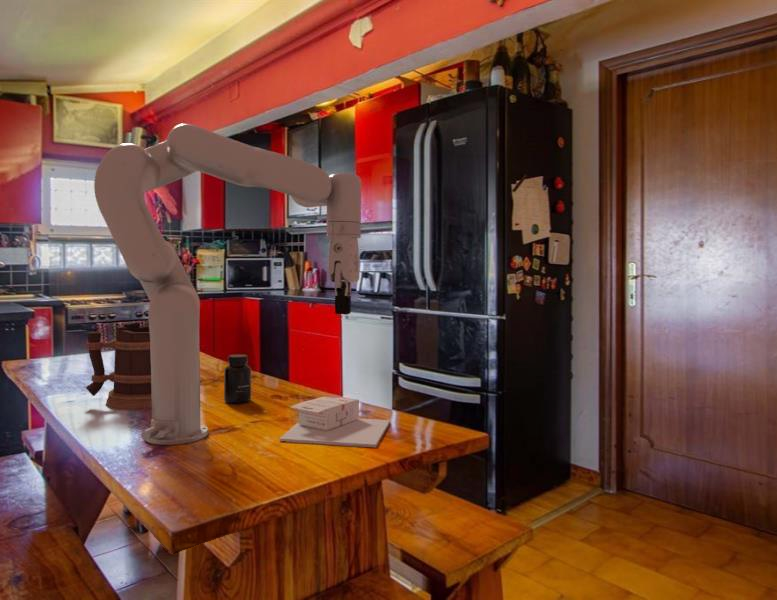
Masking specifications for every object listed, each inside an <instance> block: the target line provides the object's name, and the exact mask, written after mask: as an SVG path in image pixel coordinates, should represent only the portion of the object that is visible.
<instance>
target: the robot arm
mask: <svg viewBox="0 0 777 600" xmlns="http://www.w3.org/2000/svg"><path fill="white" fill-rule="evenodd" d="M196 172H198V173H203V174H206V175H209V176H212V177H215V178H217V179H219V180H223V181H225V182H228V183H231V184H234V185H237V186H241V187H242V186H243V187H245V188H247V187H248V188H253V187H254V188H262V189H267V190H272V191H277V192H279V193H282V194H284V195H288V196H290V197H291V199H292V200H293V201H294V203H296V204H297V205H299V206H301V207H303V208H317V207H326V238H329V253H328V254H329V256H328V278H329V281H331V283H334V286H333V287H334V295H335V296H334V313H335V314H336V315H349V314H351V312H352V311H351V310H352V306H351V304H352V296H351V295H352V283H356V282H359V280H360V252H359V251H360V250H359V249H360V248H359V239H360V238H362V237H361V234H362V233H361V231H362V228H361V227H362V179H361V178H360V176H359V175H358V174H355V173H349V172H348V173H346V172H344V173H343V172H341V173H340V172H339V173H338V172H337V173H332V174H330V175H329V174H328V173H327V172H326V171H325V170H324V169H322V168H320V167H319V166H316V165H314V164H312V163H309V162H306V161H303V160H301V159H298V158H295V157H292V156H289V155H285V154H283V153H279V152H276V151H275V152H274V151H272V150H267V149H264V148H261V147H256V146H253V145H250V144H246V143H244V142H240V141H238V140H236V139H235V140H234V139H232V138H230V137H227V136H224V135H222V134H219V133H217V132H214V131H211V130H208V129H205V128H202V127H201V126H197V125H194V124H189V123H180V124H178V125H175V126H174V127H173V128H172V129H171V130H170V131H169V133H168V135H167V137H166V139H165V140H164V141H162V142H159V143H157V144H155V145H152V146H150V147H147V148H144V147H143V146H141V145H138V144H135V143H129V142H128V143H126V142H125V143H121V144H118V145H116V146H114V147H113V148H111V149H110V150H109V151H107V152H106V154H105V155H104V156H103V158H102V159H101V161H100V162H99V165H98V166H97V168H96V171H95V175H94V181H93V183H94V184H93V187H94V188H93V189H94V196H95V201H96V203H97V207H98V209H99V211H100V214H101V216H102V218H103V220H104V222H105V225H106V226H107V228H108V230H109V233H110V234H111V237H112V239H113V240H114V243H115V245H116V246H117V248H118V250H119V252H120V254H121V257H122V259H123V260H124V263H125V265H126V268H127V270H128V271H129V273H130V275H132V276H133V277H134V278H135V279H137V280H139V282H140V285H141V286H142V288H143V290H144V291H145V294H146V296H147V297H148V299H149V305H148V326H149V332H150V356H151V399H152V409H151V420H150V427H149V428H147V429H145V430H143V431H142V432H141V438H142V439H143V440H144V441H145V442H147V443H150V444H152V445H160V446H173V445H175V446H176V445H183V444H190V443H193V442H196V441H200V440H202V439H204V438H205V437H208V435H209V428H208V426H207V425H205V424H202V423H201V366H200V365H201V361H200V360H201V359H200V355H201V354H200V351H201V350H200V310H201V309H200V308H201V301H200V297H199V295H198V292H197V291H196V289H195V286H194V284H193V283H192V281H191V279H190V278H189V277H190V276H189V275H188V273H187V271H186V269H185V267H184V265H183V263H182V262H181V260H180V257H179V256H178V253H177V252H176V250H175V248H174V247H173V245H172V244H170V243H169V242H168V241H167V240H165V238H164V236H163V235H162V232H161V231H160V229H159V227H158V225H157V223H156V221H155V219H154V216H153V214H152V212H151V210H150V209H149V207H148V205H147V203H146V200H145V199H144V193H149V192H151V191H154V190H157V189H159V188H161V187H164V186H167V185H169V184H171V183H173V182H176V181H179V180H181V179H183V178H186V177H189V176H190V175H192V174H194V173H196Z"/></svg>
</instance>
